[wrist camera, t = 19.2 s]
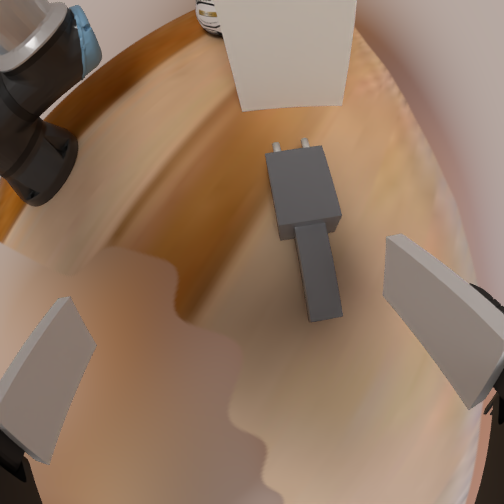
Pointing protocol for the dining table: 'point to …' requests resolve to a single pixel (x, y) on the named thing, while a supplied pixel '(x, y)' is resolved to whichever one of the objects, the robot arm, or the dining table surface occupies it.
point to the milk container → (208, 16)
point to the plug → (308, 221)
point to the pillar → (288, 50)
